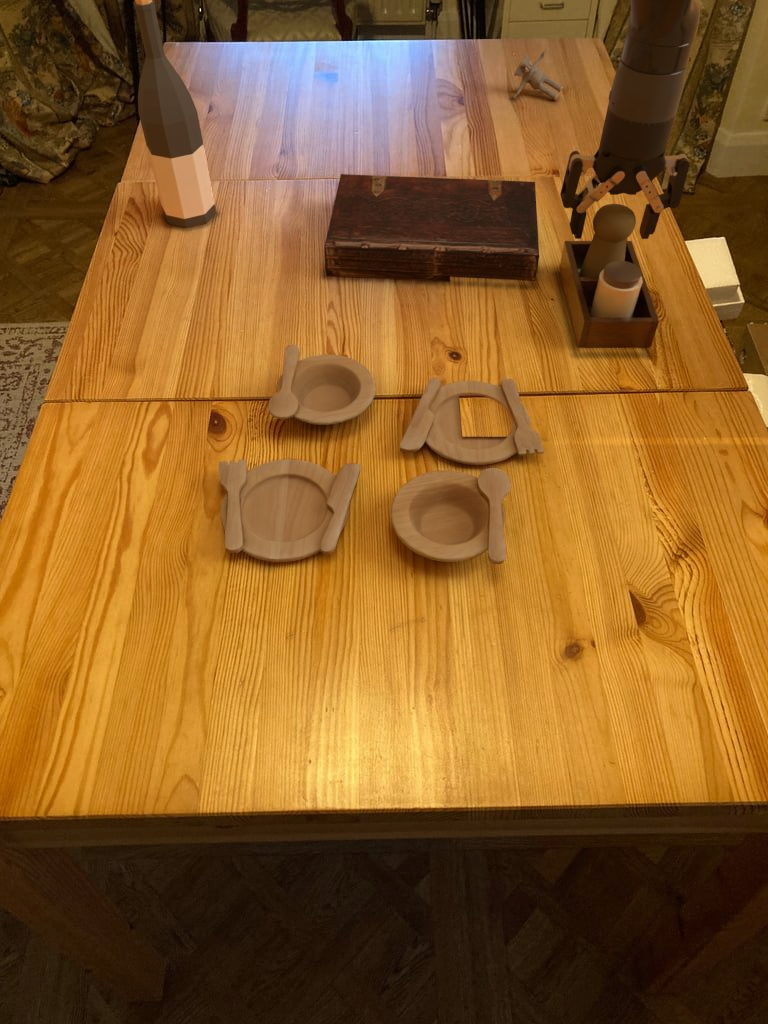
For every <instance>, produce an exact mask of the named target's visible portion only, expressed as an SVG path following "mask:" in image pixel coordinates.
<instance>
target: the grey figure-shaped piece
mask: <svg viewBox="0 0 768 1024" xmlns="http://www.w3.org/2000/svg"><path fill="white" fill-rule="evenodd" d="M546 52H547V48H545V49H544V50H543V51H542V52H541V54H540V56H539V58H538V59H537V60H536V61H534V62H533V63H532V60H531V59H530V58H529V54H527V55H525V56H524V57H523V59H522V61H521V62H520V63H519V64H518V65H517V69H515V71H514V73H513V76H514V77H520V78H521V81H520V84H519V86H518V89H517V90H516V92H515V94H514V96H513V98H512V99H513V100H514V99H516V98H517V97H518V96H519V95H520V93H521V91H522V90H523V89H524V88H525V87H526V85H527V84H529V85H530V87H531V88H532V89H533V90H539V91H540V92H542V93H544V94H545V95H547V97H549V98H551V99H552V100H553V101H556V100H557V99H558V97H559V94H558V93H561V91H562V90H563V88H564V86H563V85H561V84H559V83H557V82H556V81H555V80H553V79H552V78H551V77H549V76H546V74H545V72H544V71H543V70H539V69H538V68H539V67H540V63H541V61H542V60H544V57H545V54H546ZM546 85H548V86H549V87H551V88H552V89H554V90H555V91H557V92H558V93H556V92H554V90H552V89H550V88H549V87H548V86H546Z"/></svg>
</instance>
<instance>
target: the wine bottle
mask: <svg viewBox="0 0 768 1024" xmlns="http://www.w3.org/2000/svg"><path fill="white" fill-rule="evenodd" d="M133 8H134V9H135V13H136V17H137V22H138V26H139V31H140V35H141V39H142V45H143V48H144V53H145V57H144V62H143V67H142V71H141V73H140V77H139V83H138V91H137V110H138V111H137V113H138V117H139V120H140V121H139V122H140V124H141V128H142V133H143V137H144V140H145V145H146V149H147V153H148V157H149V161H150V166H151V169H152V173H153V177H154V181H155V186H156V189H157V193H158V197H159V202H160V205H161V209H162V212H163V215H164V217H165V218H166V220H167V222H168V225H170V226H171V225H172V226H175V227H179V228H180V227H181V228H185V229H187V228H193V227H196V226H201V225H206V224H207V223H208V222H209V221H210V220H211V219H212V218H213V217H214V216H215V215H216V203H215V199H214V194H213V189H212V183H211V178H210V172H209V167H208V161H207V156H206V152H205V146H204V140H203V136H202V135H203V134H202V130H201V129H202V128H201V124H200V119H199V114H198V110H197V107H196V105H195V102H194V100H193V98H192V94H191V93H190V92H189V90H188V88H187V86H186V84H185V81H184V80H183V79H182V77H181V75H180V74H179V73H178V72H177V70H176V68H175V67H174V66H173V64H171V62H170V60H169V58H167V56H166V53H165V49H164V45H163V40H162V35H161V29H160V25H159V20H158V15H157V10H156V3H155V0H134V1H133Z"/></svg>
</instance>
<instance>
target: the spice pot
mask: <svg viewBox="0 0 768 1024" xmlns="http://www.w3.org/2000/svg"><path fill="white" fill-rule="evenodd" d="M641 270H642V269H641ZM641 270H640V269H639V267H637V266H636V265H635V264H633V263H630V262H627V261H613V262H610V263H608V264H607V265H606V266H605V269H603V270H602V271H601V273H600V275H599V279H598V283H597V287H596V291H595V295H594V299H593V303H592V307H591V311H590V315H589V316H590V318H632V315H633V312H634V309H635V306H636V302H637V299H638V296H639V292H640V289H641V286H642V282H643V280H642V277H641Z"/></svg>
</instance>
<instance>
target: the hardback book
mask: <svg viewBox="0 0 768 1024" xmlns="http://www.w3.org/2000/svg"><path fill="white" fill-rule="evenodd" d="M536 191H537V190H536V181H526V180H525V181H524V180H501V179H500V180H499V179H498V180H497V179H476V178H475V179H474V178H450V177H449V178H447V177H427V176H426V177H424V176H423V177H422V176H401V175H400V176H399V175H398V176H397V175H374V174H373V175H370V174H349V173H348V174H347V173H344V174H343V173H340V177H339V180H338V184H337V189H336V194H335V199H334V203H333V207H332V211H331V215H330V219H329V224H328V228H327V233H326V237H325V242H324V261H325V262H324V264H325V265H324V267H325V275H326V276H327V277H329V276H330V277H346V278H347V277H348V278H349V277H351V278H367V279H369V278H371V279H372V278H373V279H391V280H410V281H411V280H412V281H433V282H451V278H471V279H491V280H509V281H510V280H512V281H513V280H514V281H529V282H530V281H536V280H537V279H536V278H537V273H538V267H539V261H540V246H539V245H540V244H539V226H538V225H539V224H538V210H537V192H536Z"/></svg>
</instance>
